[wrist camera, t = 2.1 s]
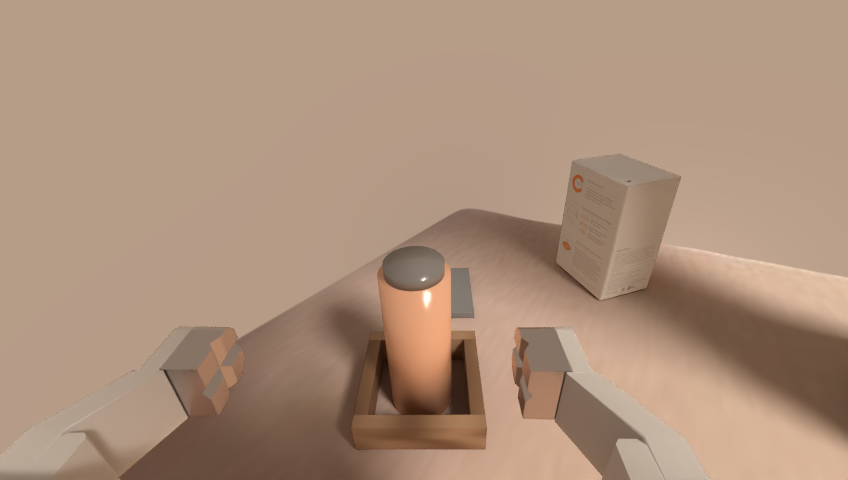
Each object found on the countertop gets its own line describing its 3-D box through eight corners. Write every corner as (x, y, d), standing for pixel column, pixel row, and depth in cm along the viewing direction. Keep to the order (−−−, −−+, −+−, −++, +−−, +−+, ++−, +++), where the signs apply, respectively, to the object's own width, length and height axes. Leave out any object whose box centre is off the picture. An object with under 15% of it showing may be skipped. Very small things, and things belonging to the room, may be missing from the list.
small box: (648, 289, 41) (684, 175, 34) (598, 302, 39) (627, 185, 33) (597, 252, 48) (620, 151, 41) (553, 262, 46) (570, 159, 40)
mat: (467, 272, 45) (468, 268, 45) (473, 317, 38) (474, 313, 38) (401, 273, 45) (401, 269, 45) (395, 318, 38) (395, 314, 38)
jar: (450, 369, 32) (449, 242, 26) (452, 420, 28) (452, 284, 22) (395, 370, 33) (381, 243, 26) (389, 420, 29) (370, 285, 22)
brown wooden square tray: (473, 350, 34) (474, 330, 33) (485, 449, 26) (486, 428, 25) (373, 351, 35) (371, 331, 33) (355, 448, 27) (350, 428, 26)
